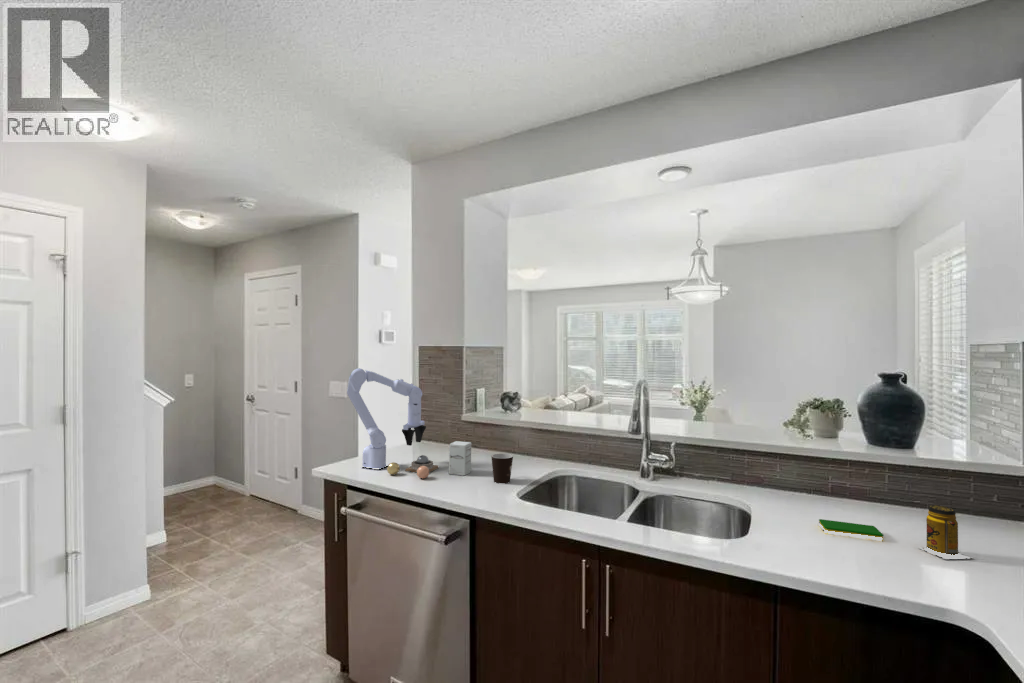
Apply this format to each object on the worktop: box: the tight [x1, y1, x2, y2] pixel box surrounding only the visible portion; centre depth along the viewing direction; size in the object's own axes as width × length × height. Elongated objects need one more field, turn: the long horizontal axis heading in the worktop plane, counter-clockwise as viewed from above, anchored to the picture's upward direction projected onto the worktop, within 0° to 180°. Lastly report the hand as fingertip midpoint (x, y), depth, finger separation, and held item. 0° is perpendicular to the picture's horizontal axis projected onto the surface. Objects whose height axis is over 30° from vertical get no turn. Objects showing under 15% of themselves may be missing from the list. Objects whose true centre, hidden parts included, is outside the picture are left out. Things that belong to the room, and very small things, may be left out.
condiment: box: [925, 504, 959, 555], centre depth 119 cm, size 7×8×12 cm
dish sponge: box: [818, 518, 884, 539], centre depth 132 cm, size 7×14×2 cm, turn 69°
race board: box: [405, 459, 439, 473], centre depth 195 cm, size 10×10×3 cm
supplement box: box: [448, 440, 473, 476], centre depth 191 cm, size 7×7×13 cm
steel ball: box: [416, 454, 430, 465], centre depth 195 cm, size 5×5×5 cm
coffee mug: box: [490, 453, 514, 484], centre depth 181 cm, size 12×9×10 cm
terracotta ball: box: [416, 466, 430, 480], centre depth 182 cm, size 5×5×5 cm
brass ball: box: [386, 461, 401, 476], centre depth 187 cm, size 5×5×5 cm
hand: (413, 443), depth 203 cm, fingers open, 7 cm apart
